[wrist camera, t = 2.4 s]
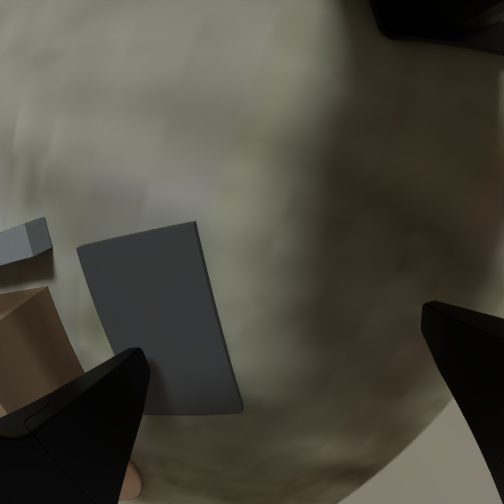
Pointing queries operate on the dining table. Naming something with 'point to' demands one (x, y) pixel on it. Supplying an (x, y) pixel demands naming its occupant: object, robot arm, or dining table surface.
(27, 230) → the grey parallel rails
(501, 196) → the dining table surface
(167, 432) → the dining table surface
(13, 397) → the walnut block
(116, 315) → the pad
